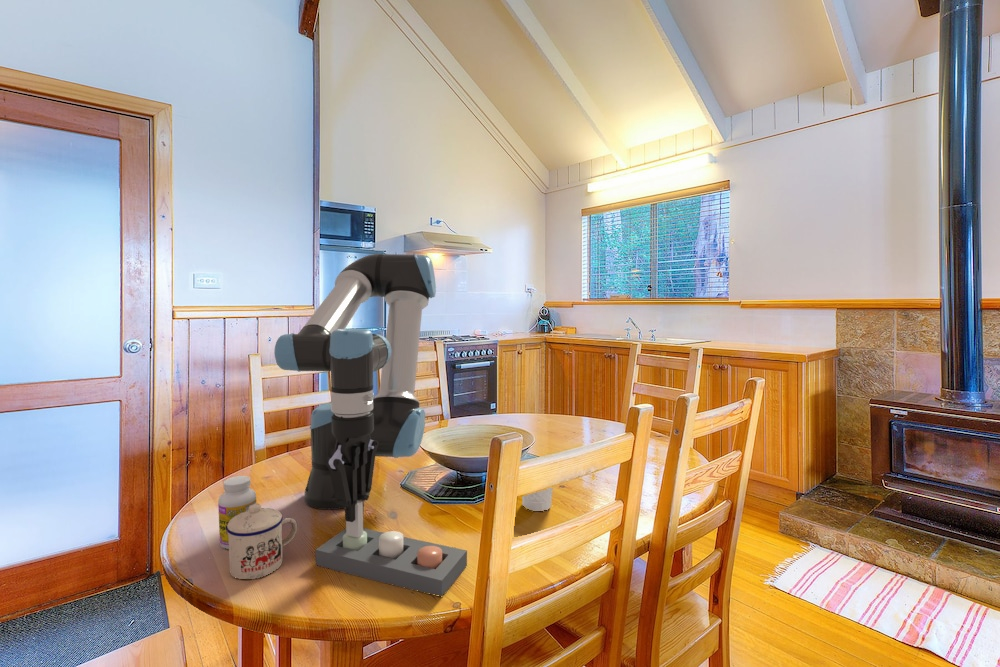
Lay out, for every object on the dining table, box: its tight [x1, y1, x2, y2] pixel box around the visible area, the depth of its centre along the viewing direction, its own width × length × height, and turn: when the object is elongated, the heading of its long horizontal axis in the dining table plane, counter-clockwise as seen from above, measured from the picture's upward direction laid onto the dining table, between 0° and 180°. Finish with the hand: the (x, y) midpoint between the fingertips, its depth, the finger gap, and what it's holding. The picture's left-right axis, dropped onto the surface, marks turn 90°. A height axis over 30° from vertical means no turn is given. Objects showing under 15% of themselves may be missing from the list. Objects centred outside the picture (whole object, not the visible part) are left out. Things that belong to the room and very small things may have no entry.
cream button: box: [379, 530, 404, 560], centre depth 89 cm, size 4×4×4 cm
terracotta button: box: [417, 546, 442, 569], centre depth 87 cm, size 4×4×4 cm
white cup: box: [521, 487, 554, 512], centre depth 115 cm, size 8×8×10 cm
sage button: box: [343, 531, 367, 551], centre depth 92 cm, size 4×4×4 cm
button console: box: [314, 527, 468, 597], centre depth 89 cm, size 26×10×3 cm, turn 70°
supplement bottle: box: [217, 475, 257, 550], centre depth 97 cm, size 7×7×13 cm
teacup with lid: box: [227, 503, 298, 580], centre depth 89 cm, size 12×9×12 cm
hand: (354, 534), depth 92 cm, fingers closed
